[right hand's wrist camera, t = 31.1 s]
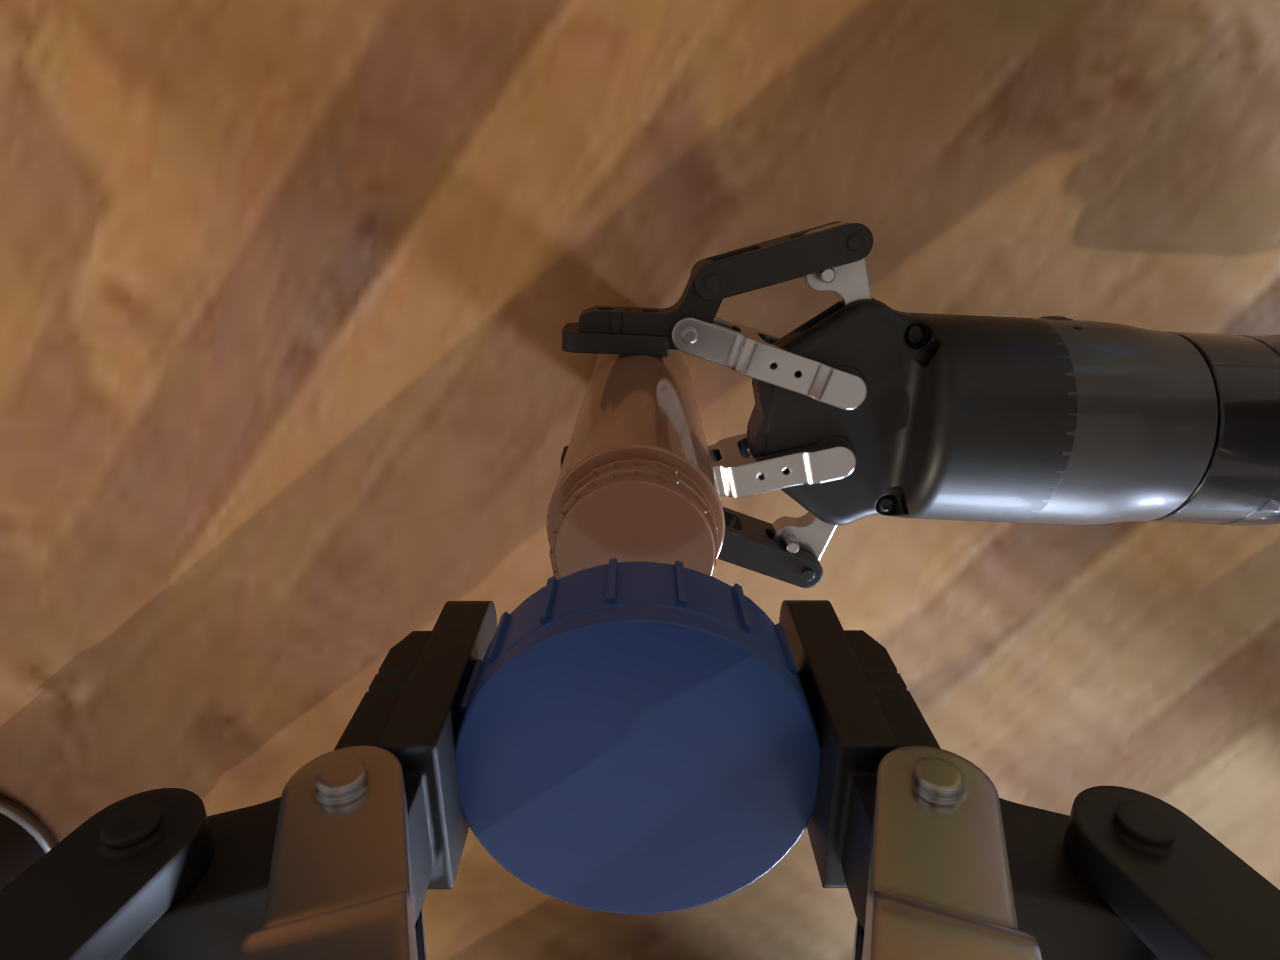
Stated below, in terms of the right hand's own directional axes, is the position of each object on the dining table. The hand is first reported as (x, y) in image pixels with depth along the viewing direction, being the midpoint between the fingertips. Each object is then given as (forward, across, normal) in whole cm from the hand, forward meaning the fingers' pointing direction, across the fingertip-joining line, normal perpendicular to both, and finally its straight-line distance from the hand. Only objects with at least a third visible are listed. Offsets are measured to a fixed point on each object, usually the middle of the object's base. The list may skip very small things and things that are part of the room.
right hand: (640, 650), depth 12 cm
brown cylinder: (+22, 0, 0) cm, 22 cm away
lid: (-3, 0, 0) cm, 3 cm away
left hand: (+16, -3, 0) cm, 16 cm away
